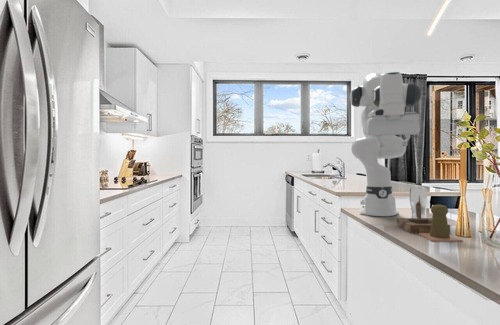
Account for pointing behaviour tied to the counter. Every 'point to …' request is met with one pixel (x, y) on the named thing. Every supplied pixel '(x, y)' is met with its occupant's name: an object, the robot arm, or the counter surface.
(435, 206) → the olive flared column
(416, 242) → the counter surface
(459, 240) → the terracotta tile
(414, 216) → the beer glass
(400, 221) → the walnut holder
